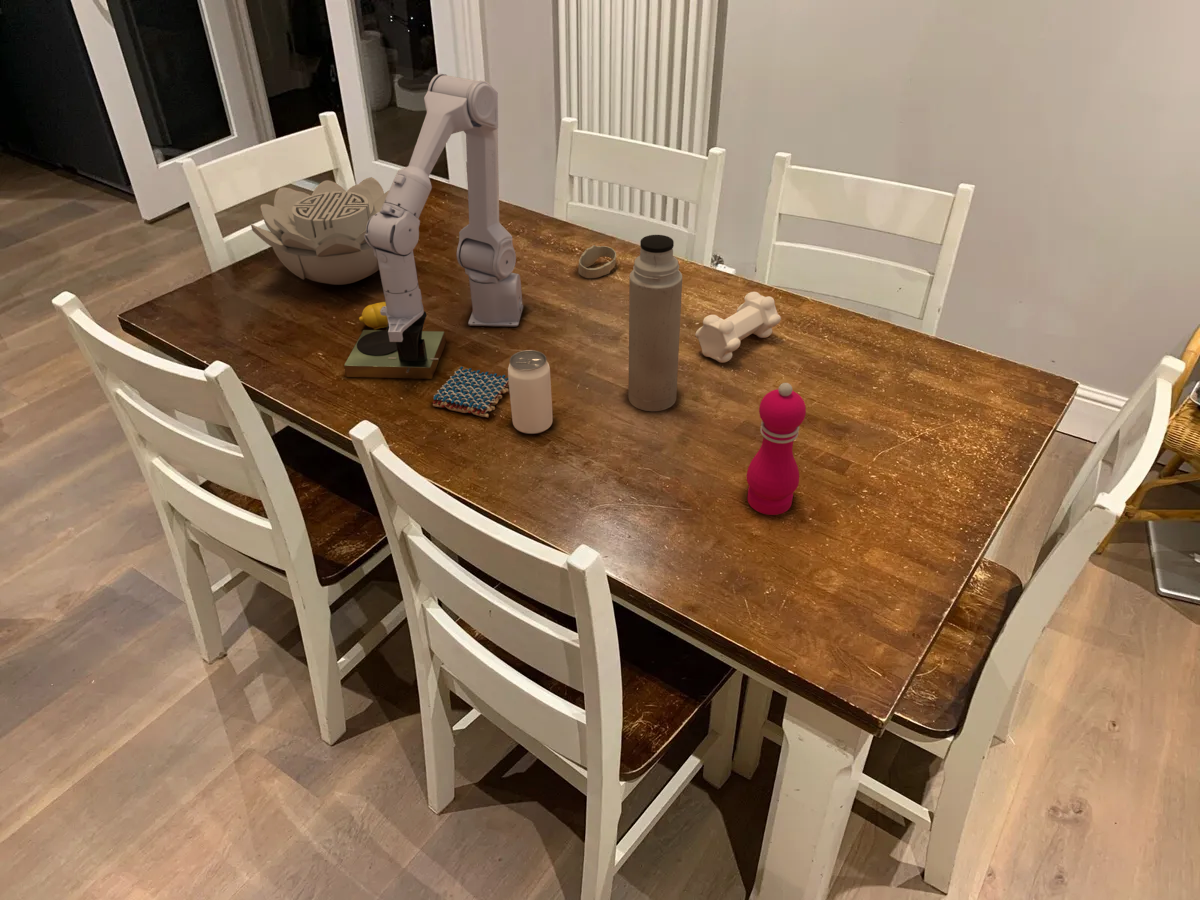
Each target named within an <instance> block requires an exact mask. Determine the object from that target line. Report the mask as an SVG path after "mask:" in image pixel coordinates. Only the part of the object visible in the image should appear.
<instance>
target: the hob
mask: <svg viewBox="0 0 1200 900" xmlns="http://www.w3.org/2000/svg"><path fill="white" fill-rule="evenodd" d="M382 330H383V329H382ZM382 330H381V329H375V330H374V329H363V330H362V332H361V333H360V336H359V337H358V339H357V341H356V343H355V345H354V346H353V348H352V350H351V352H350V354H349V356H348V358H347V359H346V361H345V363H344V366H343V367H344V371H345V377H346V378H366V379H367V378H370V379H371V378H372V379H410V380H411V379H414V380H418V379H419V380H432V379H433V378H434V375H435V373H436V370H437V367H438V364H439V362H440V359H441V357H442V354H443V352H444V349H445V346H446V344H447V341H446V333H445V331H436V330H435V331H431V330H430V331H429V330H422V339H424V340H425V347H426V353H427V358H426V361H399V356H398V351H395V352H393V353H390V354H386V355H380V356H371V355H366V354H363V353H361V352H360V351H359V350H358V348H357V343H358V341H359V340H360V339H361V338H362V337H363V336H365V335H367V334H369V333H372V332H376V331H382Z"/></svg>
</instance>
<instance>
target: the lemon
mask: <svg viewBox="0 0 1200 900" xmlns="http://www.w3.org/2000/svg"><path fill="white" fill-rule="evenodd" d="M384 306H386V302H385V301H381V302H376V303H371V304H368V305H366V306H365V307H364V308H363V309H362V312H361V315H360V316H359V317H358V320H359V322H361V323H363V324H364V325H365V326H367V327H368V328H371V329H373V330H380V329H384V328H387V326H388V319H387V316H384V315H381V313H380V310H381V309H382V307H384Z"/></svg>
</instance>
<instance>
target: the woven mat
mask: <svg viewBox="0 0 1200 900" xmlns="http://www.w3.org/2000/svg"><path fill="white" fill-rule="evenodd" d="M472 370H473V368H471V367H470V368H465V369H464V366H460V368H458V370H455V371H454V374H453V375H452V376H451V375H450V376H449V379H448V380H446V381H445V382H446V383H444V384H443V385H441V387H440V389H437V392H436V393H435V394H433V401H432V406H433V407H435V408H436V407H437V408H446V409H448V410H449V411H454V412H458V413H463V414H467V413H468V414H473V415H475V416H478V417H482V418H487V419H489V417H490V414H489V413H491V412H492V411H495V409H496V407H495V406H496V405H497V404H498V402H499V401H500V400H502V399H503V394H506V393H510V390H509V379H508V377H507V378H506V374H502V375H498V373H497V372H494V374H493V373H490V374H489V371H485V372H484V371H483V372H481V369H477V370H473V371H472ZM480 372H481V373H480Z"/></svg>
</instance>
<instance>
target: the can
mask: <svg viewBox="0 0 1200 900" xmlns="http://www.w3.org/2000/svg"><path fill="white" fill-rule="evenodd" d="M507 378H508V379H509V387H508V389H509V400H510V410H511V421H512V426H513V427H514V428H515V430H517V431H518V432H520V433H522V434H526V435H537V434H541V433H544V432H546V431H547V430H549V428H550V427H551V426H552V425H553V419H554V417H553V397H552V395H553V394H552V379H551V378H552V377H551V367H550V364H549V362H548V360H547V356H546V355H545V354H544V353H543V352H541V351H539V350H534V349H526V350H525V349H524V350H520V351H517V352H516V353H514V354H512V355H511V356H510V358H509V364H508V367H507Z"/></svg>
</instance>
